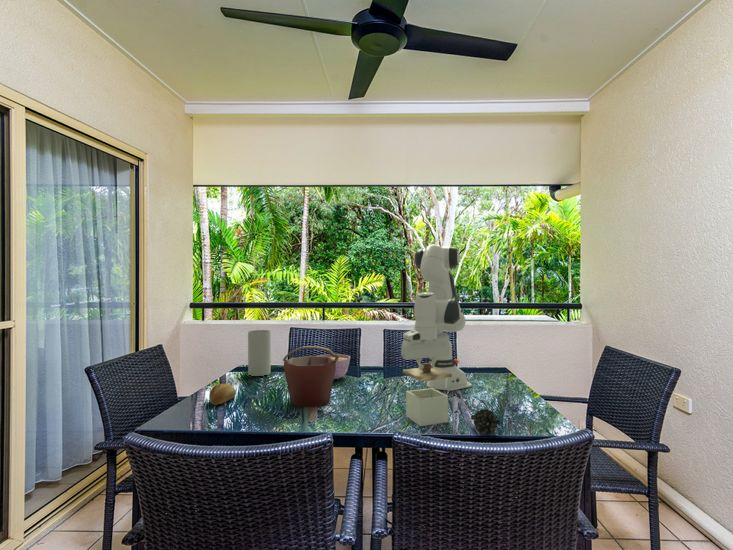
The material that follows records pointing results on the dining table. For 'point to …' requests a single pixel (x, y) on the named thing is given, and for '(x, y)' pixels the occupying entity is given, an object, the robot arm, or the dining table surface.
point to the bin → (427, 406)
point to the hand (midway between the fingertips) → (426, 368)
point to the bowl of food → (340, 364)
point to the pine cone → (485, 421)
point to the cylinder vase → (259, 353)
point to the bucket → (310, 378)
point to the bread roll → (221, 393)
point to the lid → (427, 373)
